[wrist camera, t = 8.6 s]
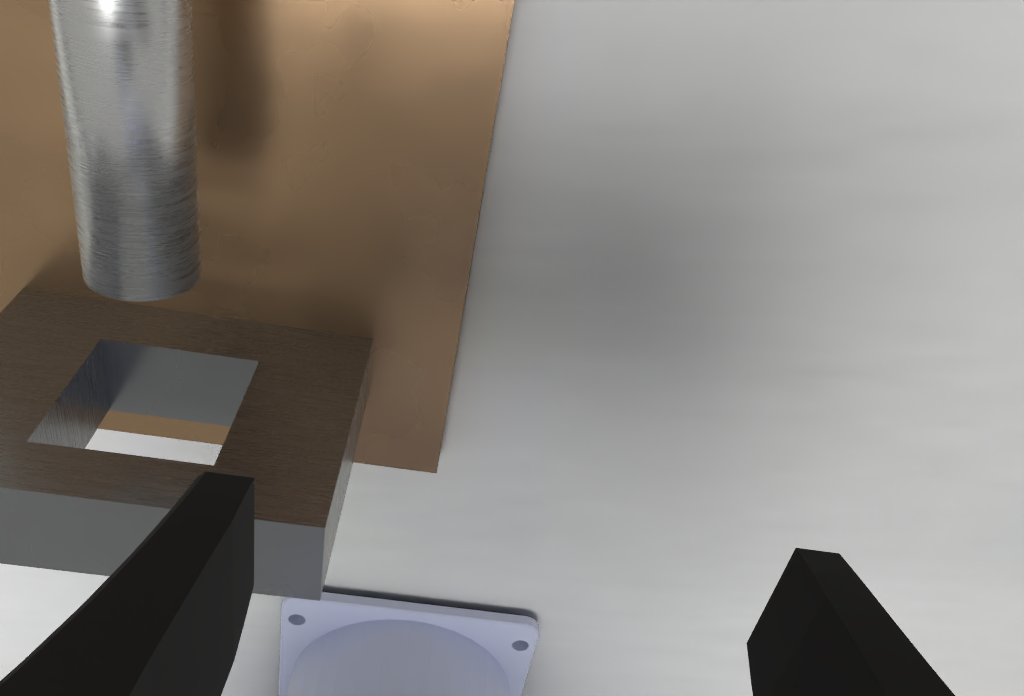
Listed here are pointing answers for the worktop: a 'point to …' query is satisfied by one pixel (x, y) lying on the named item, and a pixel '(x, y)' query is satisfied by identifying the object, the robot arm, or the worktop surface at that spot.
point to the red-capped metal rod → (131, 142)
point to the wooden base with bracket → (250, 278)
